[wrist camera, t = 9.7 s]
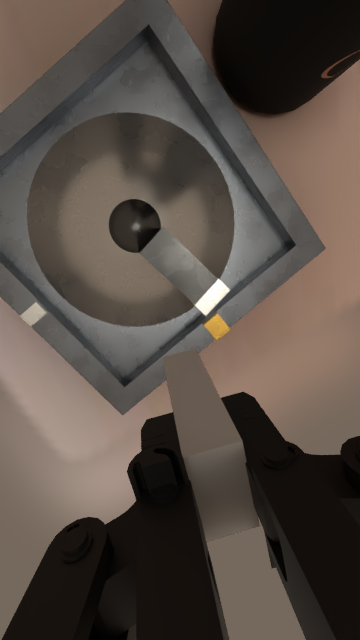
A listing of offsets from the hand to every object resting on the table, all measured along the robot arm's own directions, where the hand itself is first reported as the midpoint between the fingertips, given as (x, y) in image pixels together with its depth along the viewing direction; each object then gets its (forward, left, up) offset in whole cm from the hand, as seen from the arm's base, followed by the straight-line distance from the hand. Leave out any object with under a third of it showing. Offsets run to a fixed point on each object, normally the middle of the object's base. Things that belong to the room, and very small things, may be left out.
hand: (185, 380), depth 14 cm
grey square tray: (-3, -7, -18) cm, 20 cm away
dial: (-3, -7, -16) cm, 18 cm away
